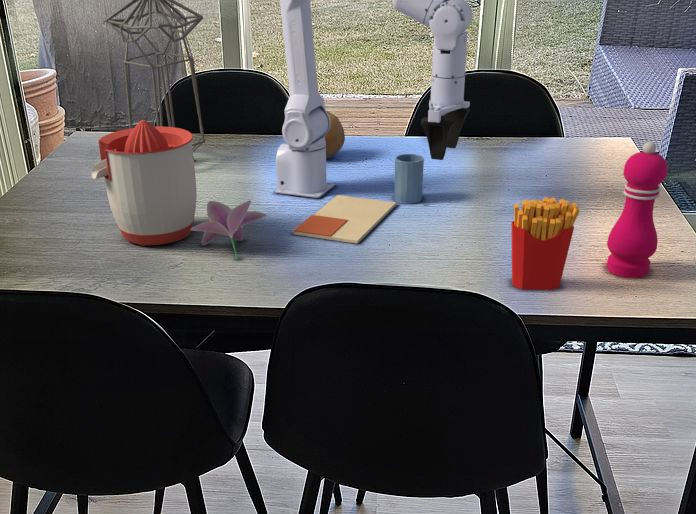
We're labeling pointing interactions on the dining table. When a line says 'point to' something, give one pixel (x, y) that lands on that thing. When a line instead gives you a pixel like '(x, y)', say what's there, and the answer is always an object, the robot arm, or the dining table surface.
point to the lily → (226, 221)
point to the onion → (334, 136)
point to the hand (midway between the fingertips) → (443, 153)
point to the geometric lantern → (141, 6)
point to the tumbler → (408, 178)
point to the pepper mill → (637, 215)
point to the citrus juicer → (149, 182)
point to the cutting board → (345, 219)
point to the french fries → (541, 242)
